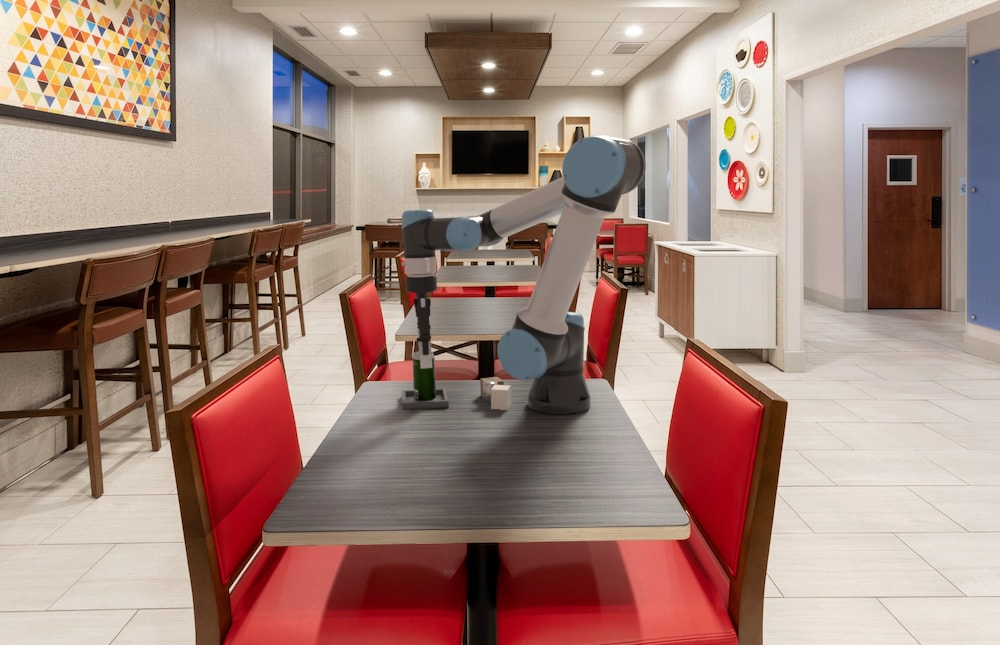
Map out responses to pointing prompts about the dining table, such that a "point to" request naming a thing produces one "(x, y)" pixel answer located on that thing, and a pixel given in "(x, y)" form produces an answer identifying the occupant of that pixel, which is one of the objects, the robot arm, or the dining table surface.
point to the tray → (410, 402)
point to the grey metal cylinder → (488, 390)
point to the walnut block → (500, 382)
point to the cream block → (501, 397)
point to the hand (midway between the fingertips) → (425, 361)
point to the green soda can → (423, 380)
